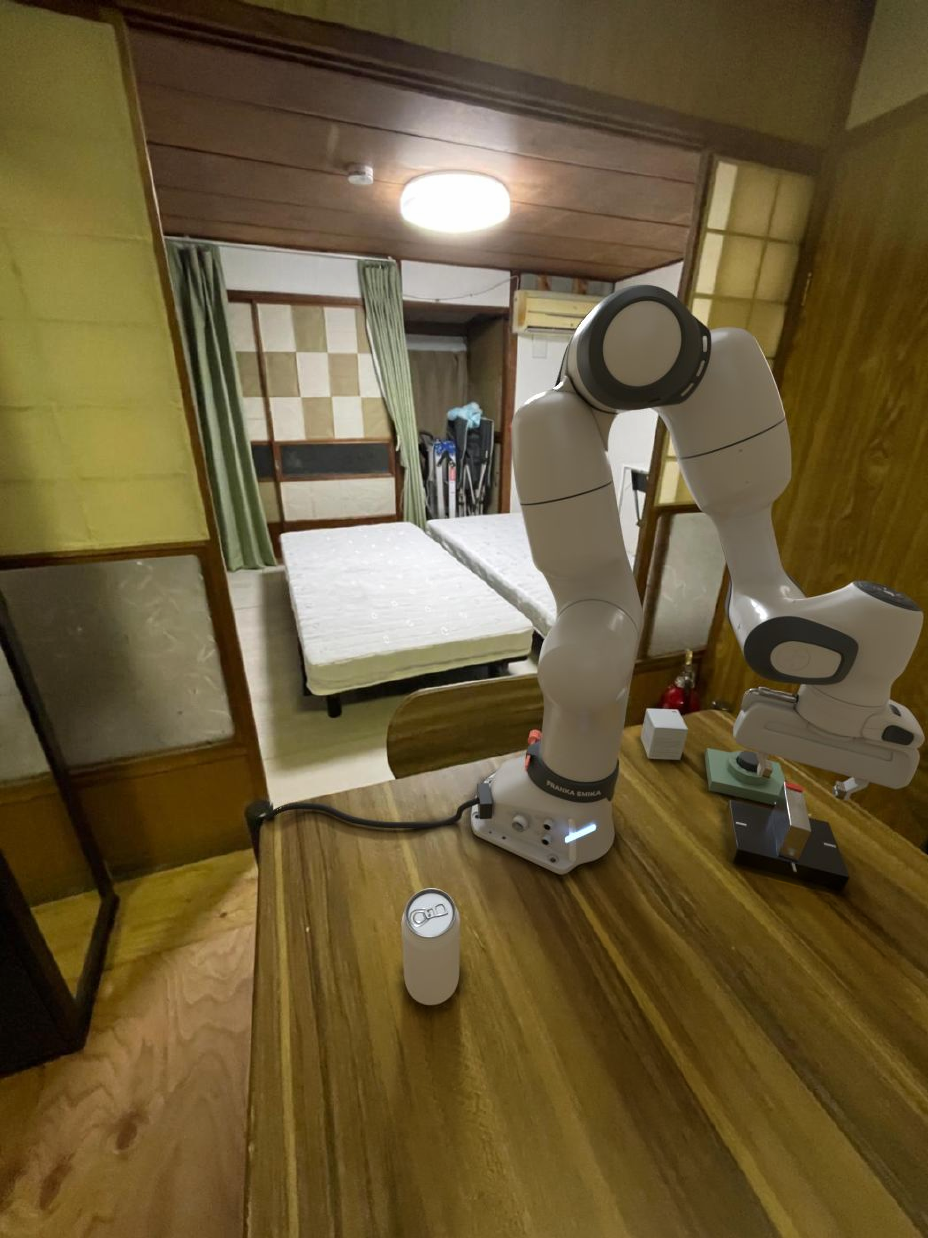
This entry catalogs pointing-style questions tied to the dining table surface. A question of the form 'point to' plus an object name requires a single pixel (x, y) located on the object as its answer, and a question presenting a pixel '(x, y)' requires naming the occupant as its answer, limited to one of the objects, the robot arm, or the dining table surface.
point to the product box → (663, 734)
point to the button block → (741, 778)
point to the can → (431, 946)
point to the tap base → (759, 849)
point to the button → (748, 761)
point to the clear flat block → (791, 821)
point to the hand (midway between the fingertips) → (800, 785)
